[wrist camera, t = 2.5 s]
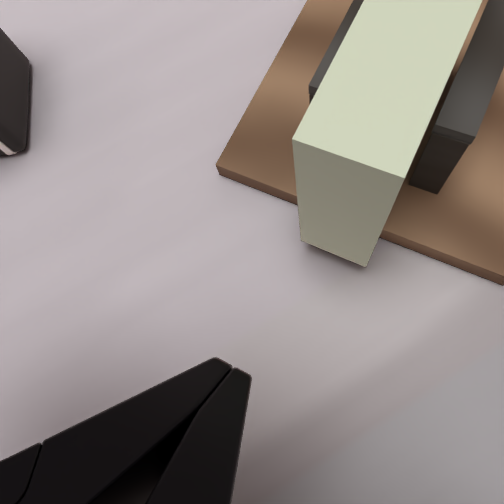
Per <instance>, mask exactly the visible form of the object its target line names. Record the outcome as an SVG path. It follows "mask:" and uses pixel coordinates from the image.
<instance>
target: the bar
mask: <svg viewBox="0 0 504 504" xmlns="http://www.w3.org/2000/svg"><path fill="white" fill-rule="evenodd" d="M481 3H482V0H364V1H363V3H362V5H361V7H360V9H359V11H358V13H357V15H356V17H355V18H354V20H353V22H352V24H351V26H350V28H349V30H348V32H347V34H346V36H345V38H344V40H343V42H342V44H341V45H340V47H339V49H338V51H337V53H336V55H335V57H334V59H333V61H332V63H331V65H330V67H329V69H328V70H327V72H326V74H325V76H324V78H323V80H322V82H321V84H320V86H319V88H318V90H317V92H316V94H315V96H314V97H313V99H312V101H311V103H310V105H309V107H308V109H307V111H306V113H305V115H304V117H303V119H302V121H301V123H300V124H299V126H298V128H297V130H296V132H295V134H294V136H293V138H292V145H293V156H294V168H295V179H296V190H297V202H298V213H299V225H300V236H301V241H303V242H306V243H308V244H311V245H313V246H315V247H318V248H320V249H323V250H325V251H328V252H330V253H332V254H335V255H337V256H340V257H342V258H344V259H347V260H349V261H352V262H354V263H356V264H359V265H361V266H364V267H366V266H367V264H368V262H369V259H370V257H371V255H372V252H373V250H374V248H375V246H376V243H377V241H378V239H379V236H380V234H381V232H382V230H383V227H384V225H385V223H386V220H387V218H388V216H389V214H390V211H391V209H392V207H393V204H394V202H395V200H396V197H397V195H398V193H399V191H400V188H401V186H402V184H403V181H404V179H405V177H406V175H407V172H408V170H409V168H410V165H411V163H412V161H413V158H414V156H415V154H416V152H417V149H418V147H419V145H420V142H421V140H422V138H423V136H424V133H425V131H426V129H427V126H428V124H429V122H430V120H431V117H432V115H433V113H434V110H435V108H436V106H437V103H438V101H439V99H440V97H441V94H442V92H443V90H444V87H445V85H446V83H447V81H448V78H449V76H450V74H451V71H452V69H453V67H454V65H455V62H456V60H457V58H458V55H459V53H460V51H461V48H462V46H463V44H464V42H465V39H466V37H467V35H468V32H469V30H470V28H471V25H472V23H473V21H474V19H475V16H476V14H477V12H478V9H479V7H480V5H481Z"/></svg>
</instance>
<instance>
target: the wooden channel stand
mask: <svg viewBox="0 0 504 504" xmlns="http://www.w3.org/2000/svg"><path fill="white" fill-rule="evenodd" d="M363 1H364V0H307V2H306V4H305V5H304V7H303V9H302V11H301V13H300V14H299V16H298V18H297V20H296V22H295V23H294V25H293V27H292V29H291V31H290V32H289V34H288V36H287V38H286V39H285V41H284V43H283V45H282V47H281V48H280V50H279V52H278V54H277V56H276V57H275V59H274V61H273V63H272V65H271V66H270V68H269V70H268V72H267V74H266V75H265V77H264V79H263V81H262V82H261V84H260V86H259V88H258V90H257V91H256V93H255V95H254V97H253V99H252V100H251V102H250V104H249V106H248V108H247V109H246V111H245V113H244V115H243V116H242V118H241V120H240V122H239V124H238V125H237V127H236V129H235V131H234V133H233V134H232V136H231V138H230V140H229V142H228V143H227V145H226V147H225V149H224V151H223V152H222V154H221V156H220V158H219V159H218V161H217V163H216V167H217V169H218V172H219V174H220V175H222V176H225V177H227V178H230V179H232V180H235V181H237V182H240V183H243V184H245V185H248V186H250V187H253V188H255V189H258V190H260V191H263V192H266V193H268V194H271V195H273V196H276V197H278V198H281V199H283V200H286V201H289V202H291V203H294V204H296V205H298V202H297V190H296V179H295V168H294V156H293V145H292V138H293V136H294V134H295V132H296V130H297V128H298V126H299V124H300V123H301V121H302V119H303V117H304V115H305V113H306V111H307V109H308V107H309V105H310V103H311V101H312V99H313V97H314V96H315V94H316V92H317V90H318V88H319V86H320V84H321V82H322V80H323V78H324V76H325V74H326V72H327V70H328V69H329V67H330V65H331V63H332V61H333V59H334V57H335V55H336V53H337V51H338V49H339V47H340V45H341V44H342V42H343V40H344V38H345V36H346V34H347V32H348V30H349V28H350V26H351V24H352V22H353V20H354V18H355V17H356V15H357V13H358V11H359V9H360V7H361V5H362V3H363ZM379 237H381V238H383V239H386V240H388V241H391V242H393V243H396V244H398V245H401V246H404V247H406V248H409V249H411V250H414V251H416V252H419V253H421V254H424V255H427V256H429V257H432V258H434V259H437V260H439V261H442V262H444V263H447V264H450V265H452V266H455V267H457V268H460V269H462V270H465V271H467V272H470V273H473V274H475V275H478V276H480V277H483V278H485V279H488V280H490V281H493V282H496V283H498V284H501V285H504V0H482V3H481V5H480V7H479V9H478V12H477V14H476V16H475V19H474V21H473V23H472V25H471V28H470V30H469V32H468V35H467V37H466V39H465V42H464V44H463V46H462V48H461V51H460V53H459V55H458V58H457V60H456V62H455V65H454V67H453V69H452V71H451V74H450V76H449V78H448V81H447V83H446V85H445V87H444V90H443V92H442V94H441V97H440V99H439V101H438V103H437V106H436V108H435V110H434V113H433V115H432V117H431V120H430V122H429V124H428V126H427V129H426V131H425V133H424V136H423V138H422V140H421V142H420V145H419V147H418V149H417V152H416V154H415V156H414V158H413V161H412V163H411V165H410V168H409V170H408V172H407V175H406V177H405V179H404V181H403V184H402V186H401V188H400V191H399V193H398V195H397V197H396V200H395V202H394V204H393V207H392V209H391V211H390V214H389V216H388V218H387V220H386V223H385V225H384V227H383V230H382V232H381V234H380V236H379Z"/></svg>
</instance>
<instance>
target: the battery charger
mask: <svg viewBox="0 0 504 504" xmlns="http://www.w3.org/2000/svg"><path fill="white" fill-rule="evenodd" d="M28 102H29V60H28V59H27V57H26V56H25V55H24V54H23V53H22V52H21V51H20V50H19V49H18V47H17V46H16V45H15V44H14V43H13V42H12V41H11V40H10V38H9V37H8V36H7V35H6V34H5V33H4V32H3V30H2V29H1V28H0V155H4V154H7V155H11V154H16V153H17V152H18V151H21V150H23V149H24V148H25V146H26V135H27V120H28Z"/></svg>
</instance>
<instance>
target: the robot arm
mask: <svg viewBox="0 0 504 504" xmlns="http://www.w3.org/2000/svg"><path fill="white" fill-rule="evenodd" d="M251 381H252V377H251V375H250V374H248V373H246V372H244V371H242V370H240V369H238V368H232V366H231V365H230V364H229V363H227V362H225V361H223V360H221V359H219V358H216V357H215V358H211V359H209V360H207V361H205V362H203V363H201V364H199V365H197V366H195V367H193V368H191V369H189V370H187V371H185V372H183V373H181V374H178V375H176V376H174V377H172V378H170V379H168V380H166V381H164V382H162V383H160V384H158V385H156V386H154V387H152V388H150V389H148V390H146V391H144V392H142V393H140V394H138V395H136V396H134V397H131V398H129V399H127V400H125V401H123V402H121V403H119V404H117V405H115V406H113V407H111V408H109V409H107V410H105V411H103V412H101V413H99V414H97V415H95V416H93V417H91V418H89V419H87V420H85V421H82V422H80V423H78V424H76V425H74V426H72V427H70V428H68V429H66V430H64V431H62V432H60V433H58V434H56V435H54V436H52V437H50V438H48V439H46V440H44V441H43V444H41V443H37V444H35V445H33V446H31V447H29V448H27V449H25V450H23V451H21V452H19V453H17V454H15V455H12V456H10V457H8V458H6V459H4V460H2V461H0V504H231V501H232V495H233V489H234V483H235V477H236V471H237V465H238V459H239V453H240V447H241V441H242V435H243V429H244V423H245V417H246V411H247V405H248V399H249V393H250V387H251Z"/></svg>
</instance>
